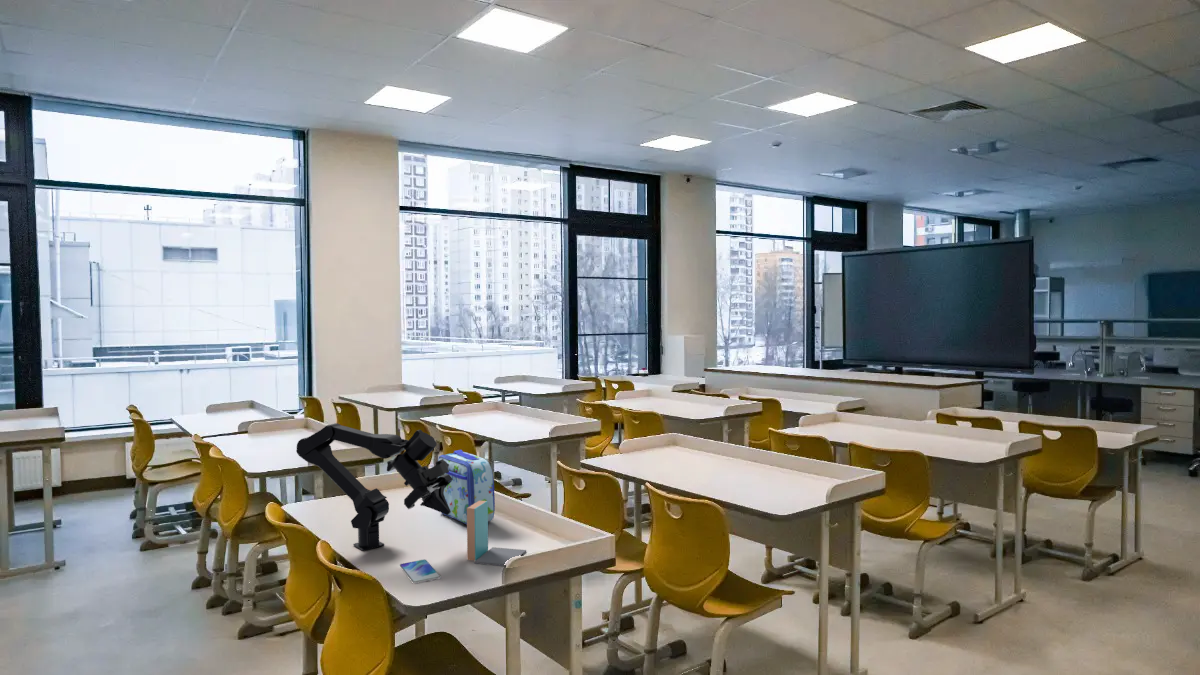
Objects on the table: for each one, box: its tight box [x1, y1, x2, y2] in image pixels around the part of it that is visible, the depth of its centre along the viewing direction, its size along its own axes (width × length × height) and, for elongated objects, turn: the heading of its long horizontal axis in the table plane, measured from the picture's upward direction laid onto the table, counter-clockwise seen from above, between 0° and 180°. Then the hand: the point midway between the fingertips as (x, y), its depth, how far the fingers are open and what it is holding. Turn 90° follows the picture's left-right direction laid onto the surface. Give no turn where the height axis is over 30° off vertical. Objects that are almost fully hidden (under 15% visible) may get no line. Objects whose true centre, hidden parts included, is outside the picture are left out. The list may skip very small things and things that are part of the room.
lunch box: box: [437, 449, 496, 525], centre depth 237 cm, size 26×11×21 cm, turn 35°
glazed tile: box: [466, 501, 489, 562], centre depth 201 cm, size 2×8×14 cm, turn 165°
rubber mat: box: [474, 546, 527, 567], centre depth 199 cm, size 10×12×1 cm
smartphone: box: [398, 559, 442, 584], centre depth 189 cm, size 7×1×15 cm
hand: (449, 513), depth 202 cm, fingers closed
